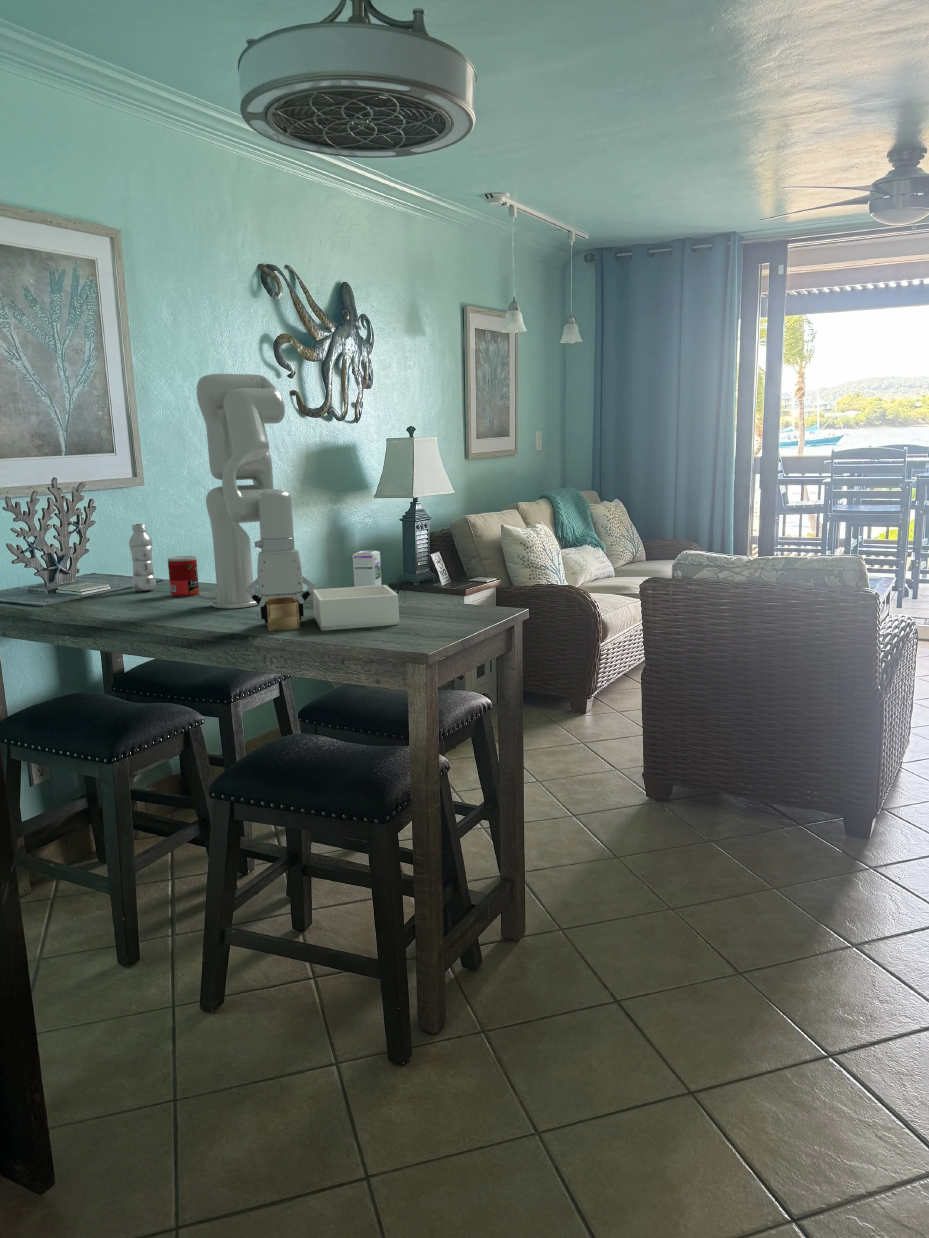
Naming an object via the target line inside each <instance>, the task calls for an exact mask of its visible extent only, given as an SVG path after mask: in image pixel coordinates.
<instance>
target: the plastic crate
mask: <svg viewBox="0 0 929 1238" xmlns="http://www.w3.org/2000/svg"><path fill="white" fill-rule="evenodd" d="M312 601H313V615H314V616H313V617H314V620H315V621H316V624H317V625H318V626H319V628H320V630H321V631H332V630H333V631H334V630H336V631H337V630H347V629H349V630H350V629H358V628H372V627H373V628H374V627H388V626H397V625H398V626H399V625H400V612H399V611H400V610H399V608H400V605H399V594H397V593H396V592H395V591H394V590H393V589H392V588H390V586H388V585H387V584H382V585H377V586H362V587H355V586H350V587H348V586H347V587H337V588H335V587H334V588H333V587H331V588H320V589H316V588H315V589H314V590H313V592H312Z"/></svg>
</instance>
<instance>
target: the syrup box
mask: <svg viewBox="0 0 929 1238" xmlns="http://www.w3.org/2000/svg"><path fill="white" fill-rule="evenodd" d="M381 563H382V562H381V551H379V550H360V551H358V552H355V553H352V568H353V570H352V572H353V585H354V586H353V587H362V586H377V585H383V579H382V578H383V577H382V564H381Z"/></svg>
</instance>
